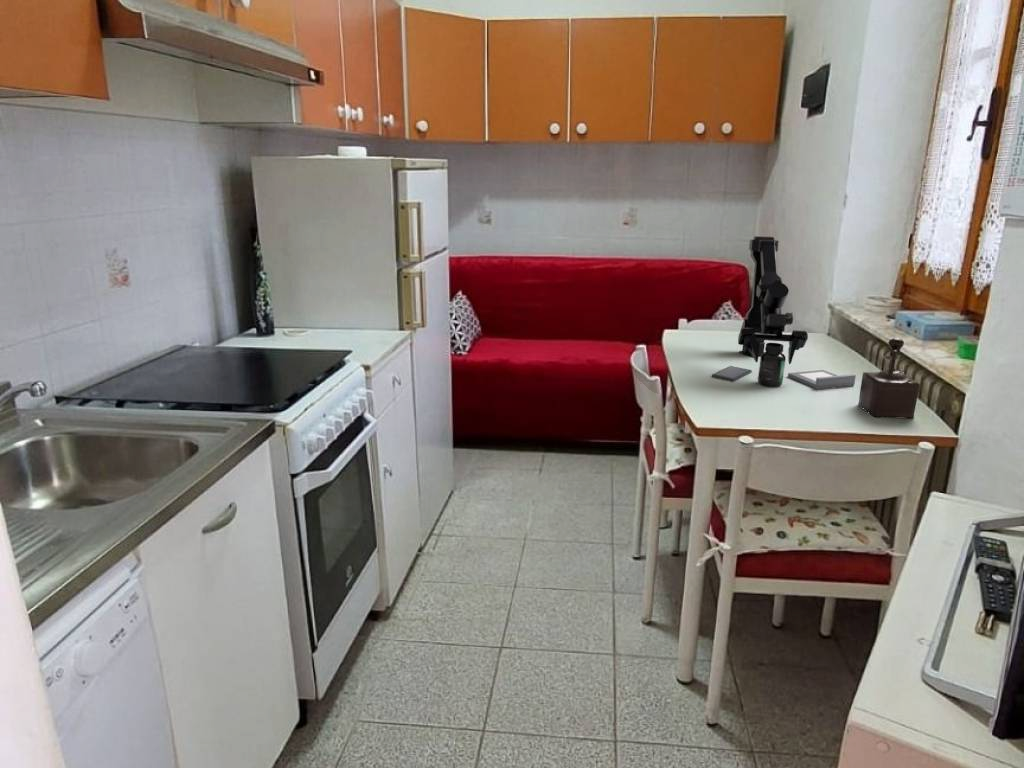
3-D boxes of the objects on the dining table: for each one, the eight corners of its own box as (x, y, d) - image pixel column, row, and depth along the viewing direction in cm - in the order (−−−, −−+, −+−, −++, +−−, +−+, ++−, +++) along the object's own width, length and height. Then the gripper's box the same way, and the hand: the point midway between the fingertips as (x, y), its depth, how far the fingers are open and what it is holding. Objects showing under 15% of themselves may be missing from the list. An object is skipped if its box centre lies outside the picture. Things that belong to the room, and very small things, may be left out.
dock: (787, 376, 214) (789, 366, 214) (822, 373, 218) (824, 363, 217) (817, 389, 203) (819, 378, 202) (854, 385, 207) (855, 375, 206)
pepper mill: (917, 419, 180) (930, 351, 175) (873, 417, 181) (885, 349, 175) (889, 399, 195) (901, 336, 190) (849, 398, 196) (859, 335, 190)
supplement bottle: (786, 387, 205) (792, 347, 201) (764, 387, 203) (769, 347, 200) (774, 380, 211) (779, 341, 207) (753, 381, 210) (758, 341, 206)
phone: (711, 376, 213) (712, 374, 213) (730, 368, 223) (730, 365, 222) (733, 381, 209) (734, 378, 209) (751, 372, 218) (751, 369, 218)
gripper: (743, 300, 205) (745, 346, 198) (811, 303, 203) (814, 350, 195) (737, 321, 215) (738, 365, 208) (801, 324, 212) (804, 369, 205)
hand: (773, 362), depth 204 cm, fingers open, 9 cm apart
